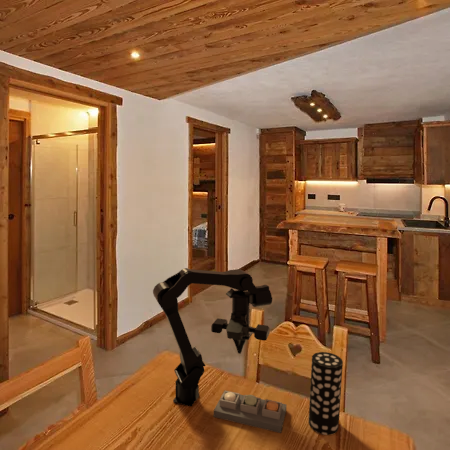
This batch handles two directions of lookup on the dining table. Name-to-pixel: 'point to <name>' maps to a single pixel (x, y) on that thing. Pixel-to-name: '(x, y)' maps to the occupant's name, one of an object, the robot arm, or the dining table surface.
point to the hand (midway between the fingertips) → (239, 353)
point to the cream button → (230, 397)
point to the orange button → (272, 406)
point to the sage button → (250, 400)
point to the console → (251, 413)
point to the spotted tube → (325, 392)
